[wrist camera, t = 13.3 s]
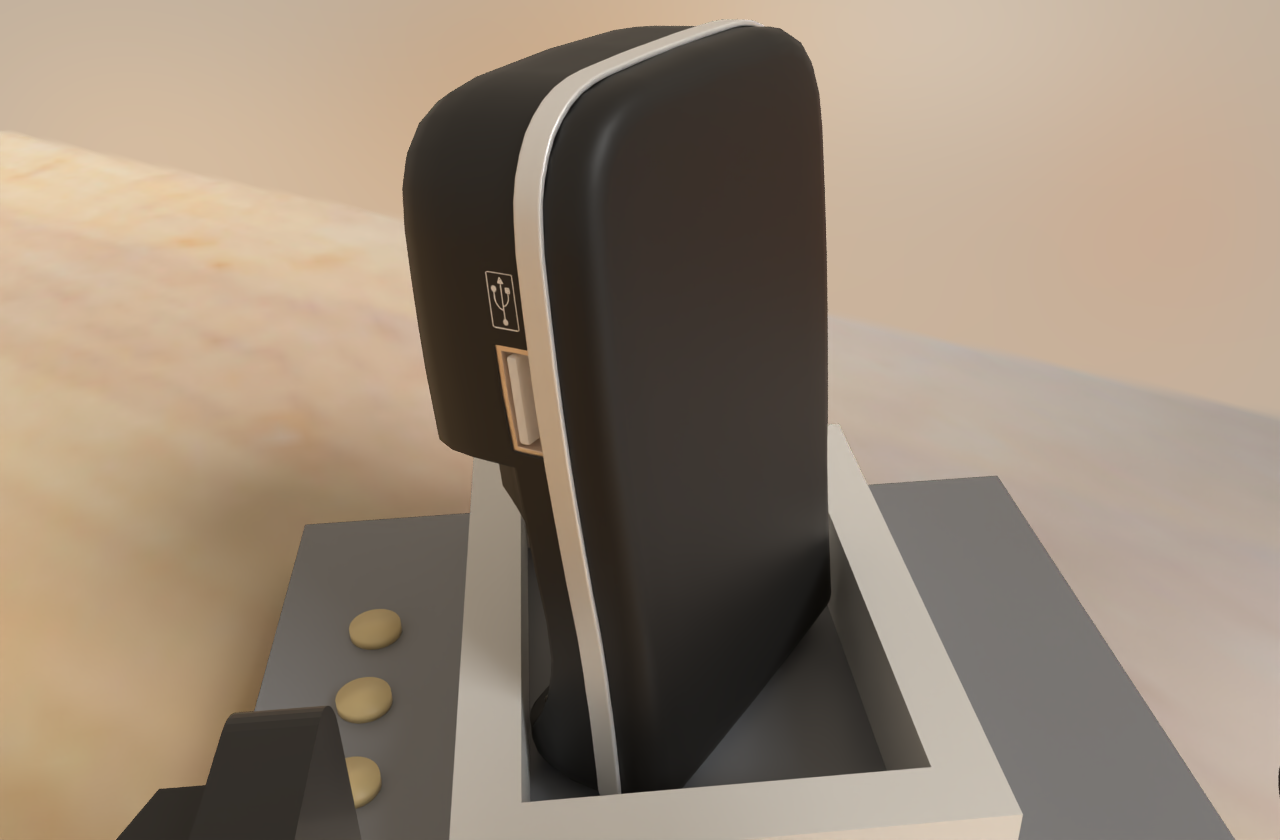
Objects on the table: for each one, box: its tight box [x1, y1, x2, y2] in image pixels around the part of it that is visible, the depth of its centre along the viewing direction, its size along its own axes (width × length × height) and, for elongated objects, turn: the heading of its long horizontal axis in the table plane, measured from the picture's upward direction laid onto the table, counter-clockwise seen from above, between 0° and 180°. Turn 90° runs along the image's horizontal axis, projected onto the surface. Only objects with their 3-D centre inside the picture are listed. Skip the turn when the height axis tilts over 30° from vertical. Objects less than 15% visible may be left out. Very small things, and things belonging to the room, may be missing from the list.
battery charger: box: [402, 20, 831, 796], centre depth 19 cm, size 7×4×11 cm, turn 147°
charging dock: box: [254, 424, 1235, 840], centre depth 22 cm, size 16×12×3 cm
